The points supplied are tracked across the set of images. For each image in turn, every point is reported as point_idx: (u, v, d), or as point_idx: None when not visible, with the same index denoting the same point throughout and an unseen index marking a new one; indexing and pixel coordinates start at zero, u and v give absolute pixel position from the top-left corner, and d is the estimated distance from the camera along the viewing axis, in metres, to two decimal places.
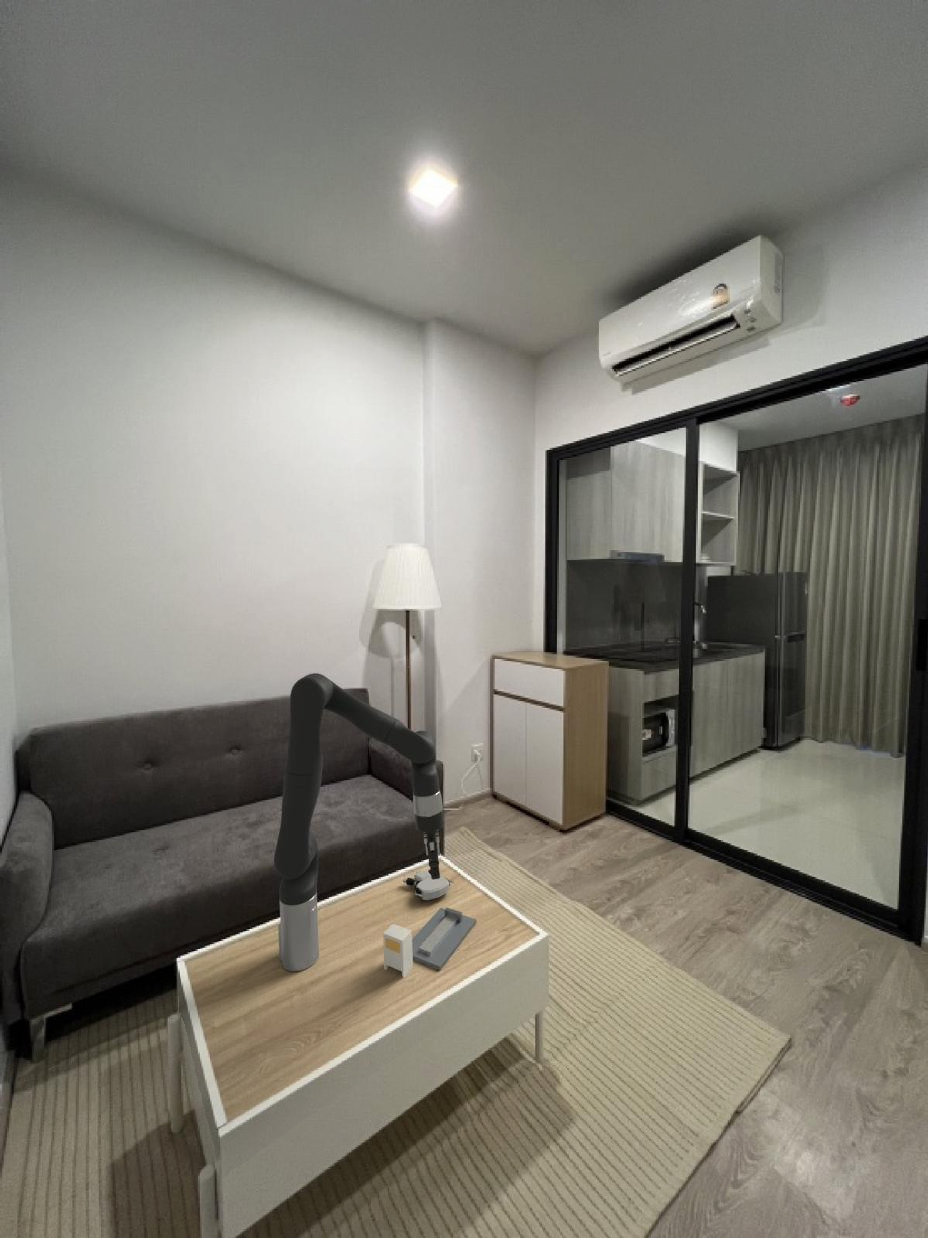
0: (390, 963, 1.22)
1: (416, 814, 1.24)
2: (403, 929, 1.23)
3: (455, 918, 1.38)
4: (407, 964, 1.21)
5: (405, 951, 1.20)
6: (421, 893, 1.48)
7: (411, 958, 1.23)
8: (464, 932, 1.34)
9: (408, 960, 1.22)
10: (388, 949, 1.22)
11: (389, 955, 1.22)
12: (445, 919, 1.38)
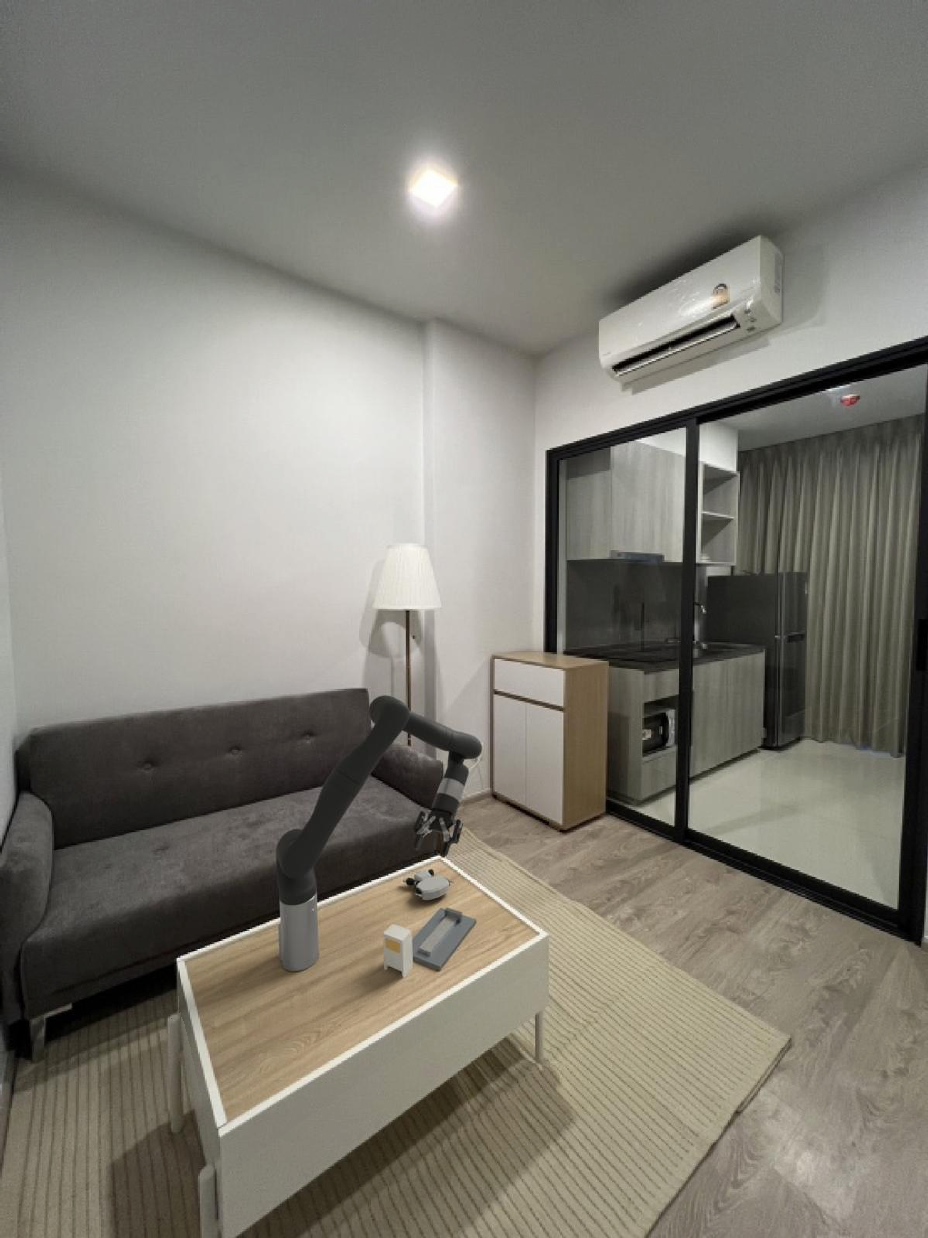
0: (390, 963, 1.22)
1: (449, 794, 1.42)
2: (403, 929, 1.23)
3: (455, 918, 1.38)
4: (407, 964, 1.21)
5: (405, 951, 1.20)
6: (421, 893, 1.48)
7: (411, 958, 1.23)
8: (464, 932, 1.34)
9: (408, 960, 1.22)
10: (388, 949, 1.22)
11: (389, 955, 1.22)
12: (445, 919, 1.38)
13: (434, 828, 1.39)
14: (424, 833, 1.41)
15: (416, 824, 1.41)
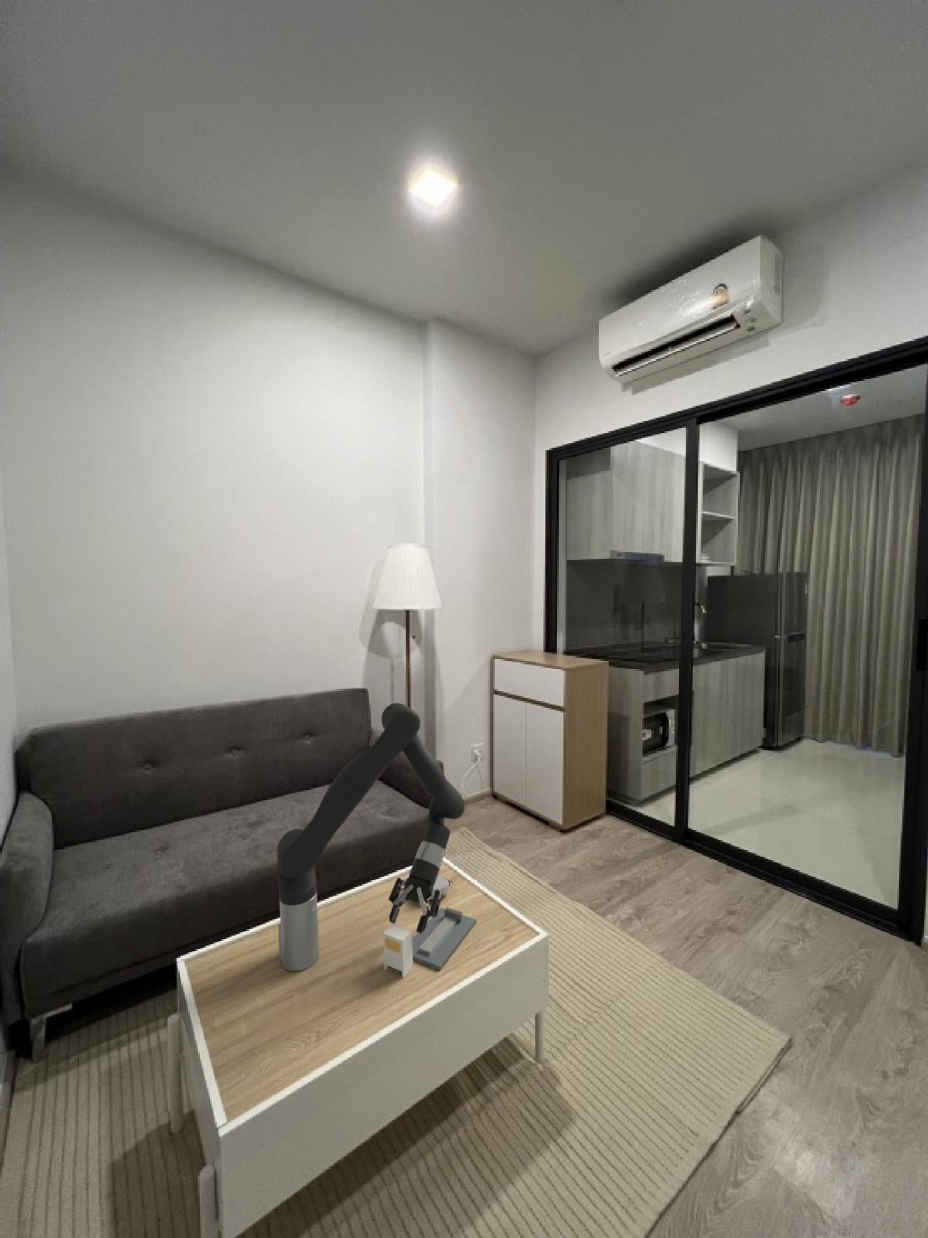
0: (390, 963, 1.22)
1: (428, 861, 1.32)
2: (403, 929, 1.23)
3: (455, 918, 1.38)
4: (407, 964, 1.21)
5: (405, 951, 1.20)
6: None
7: (411, 958, 1.23)
8: (464, 932, 1.34)
9: (408, 960, 1.22)
10: (388, 949, 1.22)
11: (389, 955, 1.22)
12: (445, 919, 1.38)
13: (411, 899, 1.29)
14: (401, 903, 1.31)
15: (392, 893, 1.32)
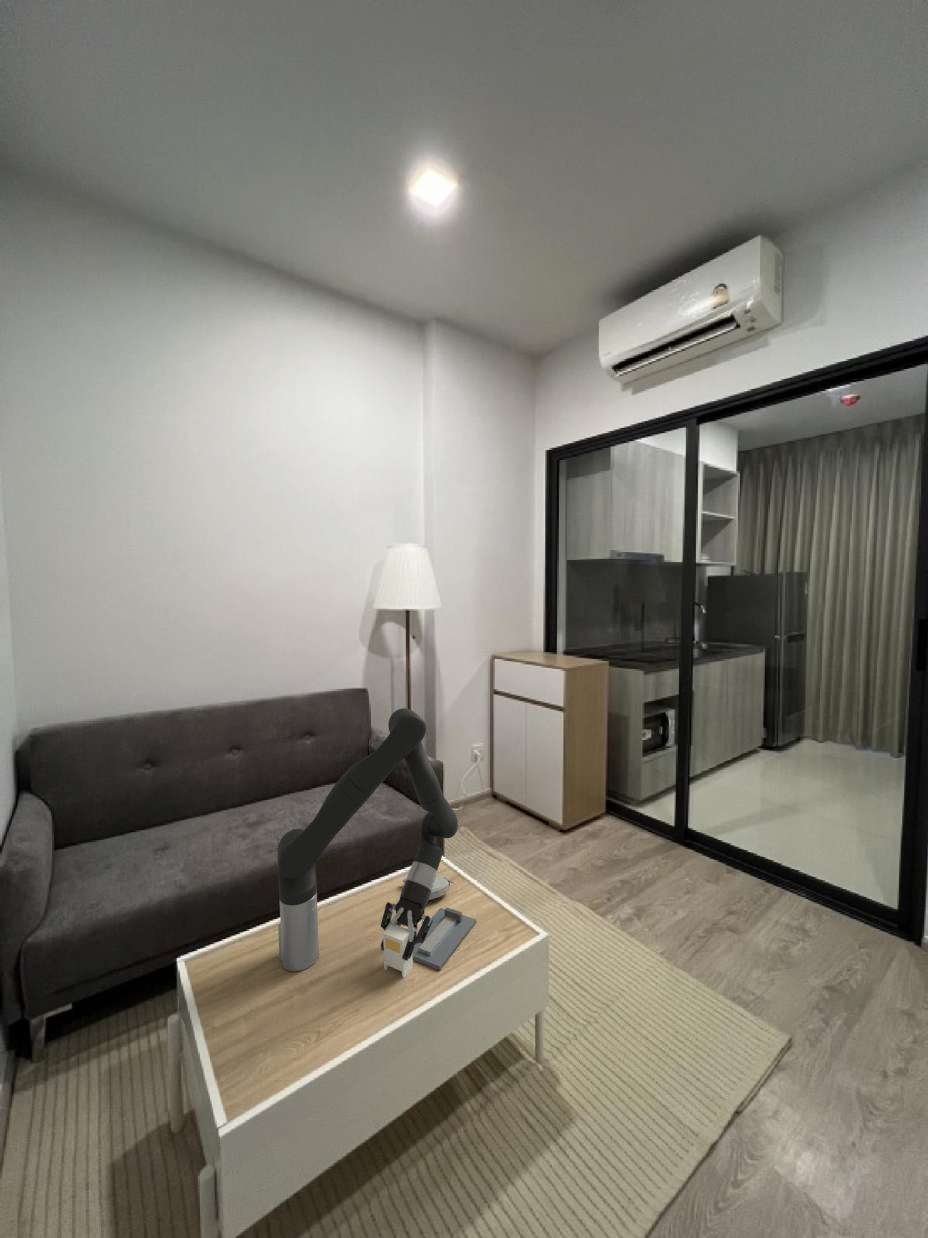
0: (390, 963, 1.22)
1: (420, 883, 1.28)
2: (403, 929, 1.23)
3: (455, 918, 1.38)
4: (407, 964, 1.21)
5: None
6: None
7: (411, 958, 1.23)
8: (464, 932, 1.34)
9: (408, 960, 1.22)
10: (388, 949, 1.22)
11: (389, 955, 1.22)
12: (445, 919, 1.38)
13: (401, 923, 1.25)
14: None
15: (383, 919, 1.27)
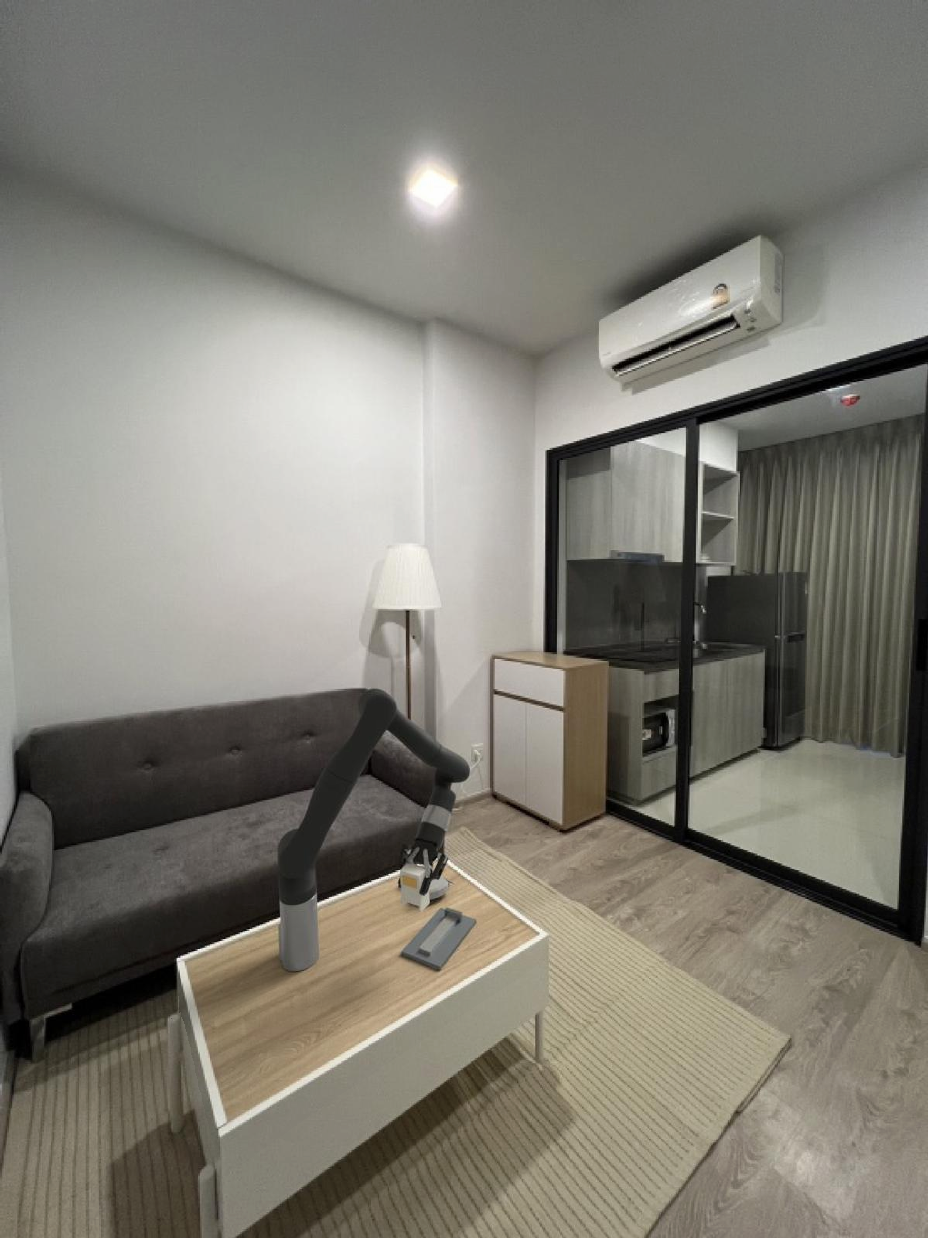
0: (407, 899, 1.24)
1: (434, 823, 1.31)
2: (419, 867, 1.26)
3: (455, 918, 1.38)
4: (424, 900, 1.24)
5: None
6: None
7: (428, 895, 1.26)
8: (464, 932, 1.34)
9: (425, 896, 1.25)
10: (405, 886, 1.25)
11: (406, 891, 1.24)
12: (445, 919, 1.38)
13: (417, 861, 1.28)
14: None
15: (400, 859, 1.30)
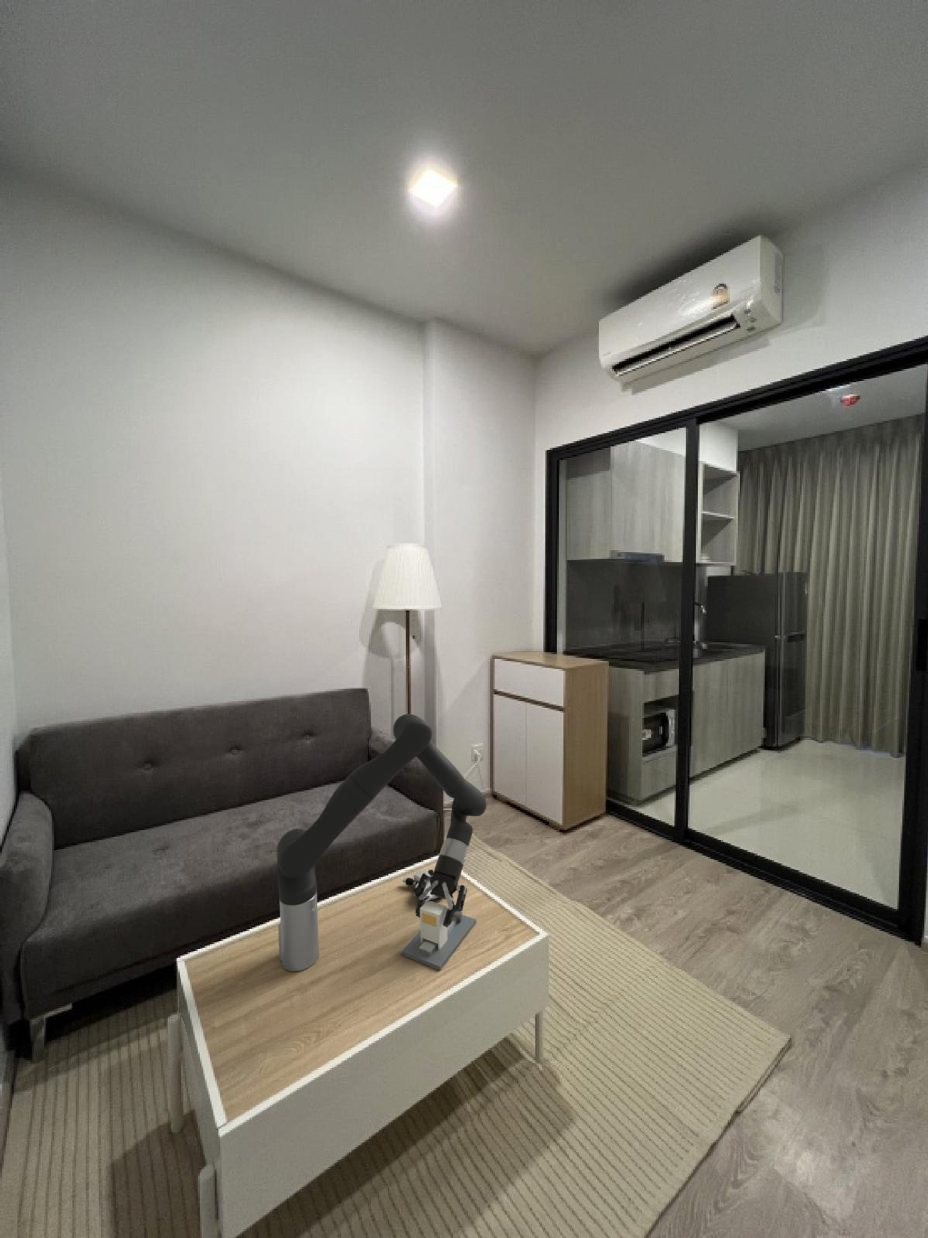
0: (426, 937, 1.29)
1: (453, 857, 1.36)
2: (438, 905, 1.31)
3: (455, 918, 1.38)
4: (442, 937, 1.29)
5: (441, 924, 1.28)
6: None
7: (446, 932, 1.31)
8: (464, 932, 1.34)
9: (443, 934, 1.29)
10: (424, 923, 1.29)
11: (426, 929, 1.29)
12: None
13: (436, 894, 1.32)
14: (426, 898, 1.34)
15: (418, 888, 1.35)
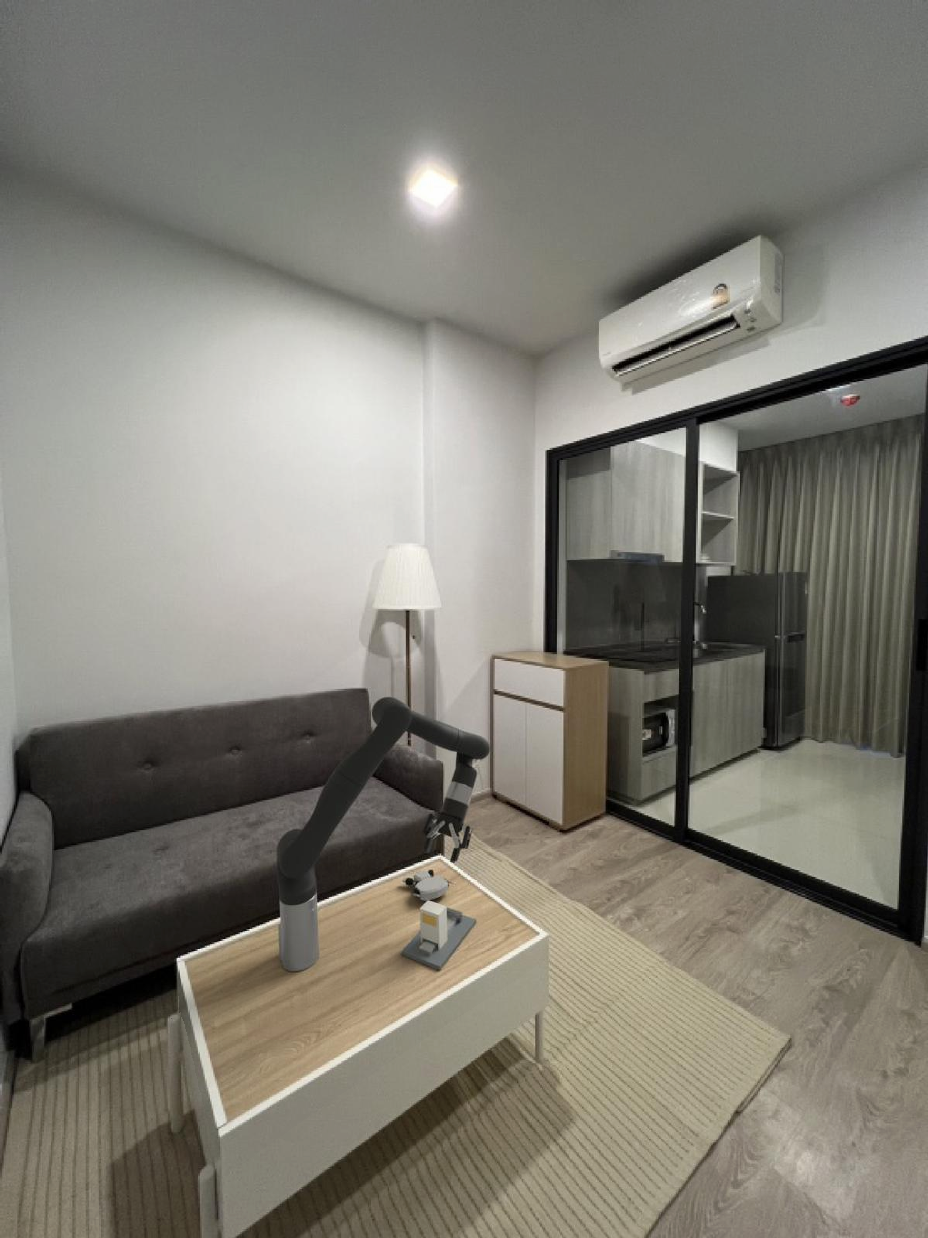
0: (426, 937, 1.29)
1: (459, 800, 1.42)
2: (438, 905, 1.31)
3: (455, 918, 1.38)
4: (442, 937, 1.29)
5: (441, 924, 1.28)
6: (419, 893, 1.48)
7: (446, 932, 1.31)
8: (464, 932, 1.34)
9: (443, 934, 1.29)
10: (424, 923, 1.29)
11: (426, 929, 1.29)
12: None
13: (443, 833, 1.40)
14: (434, 835, 1.43)
15: (426, 827, 1.43)
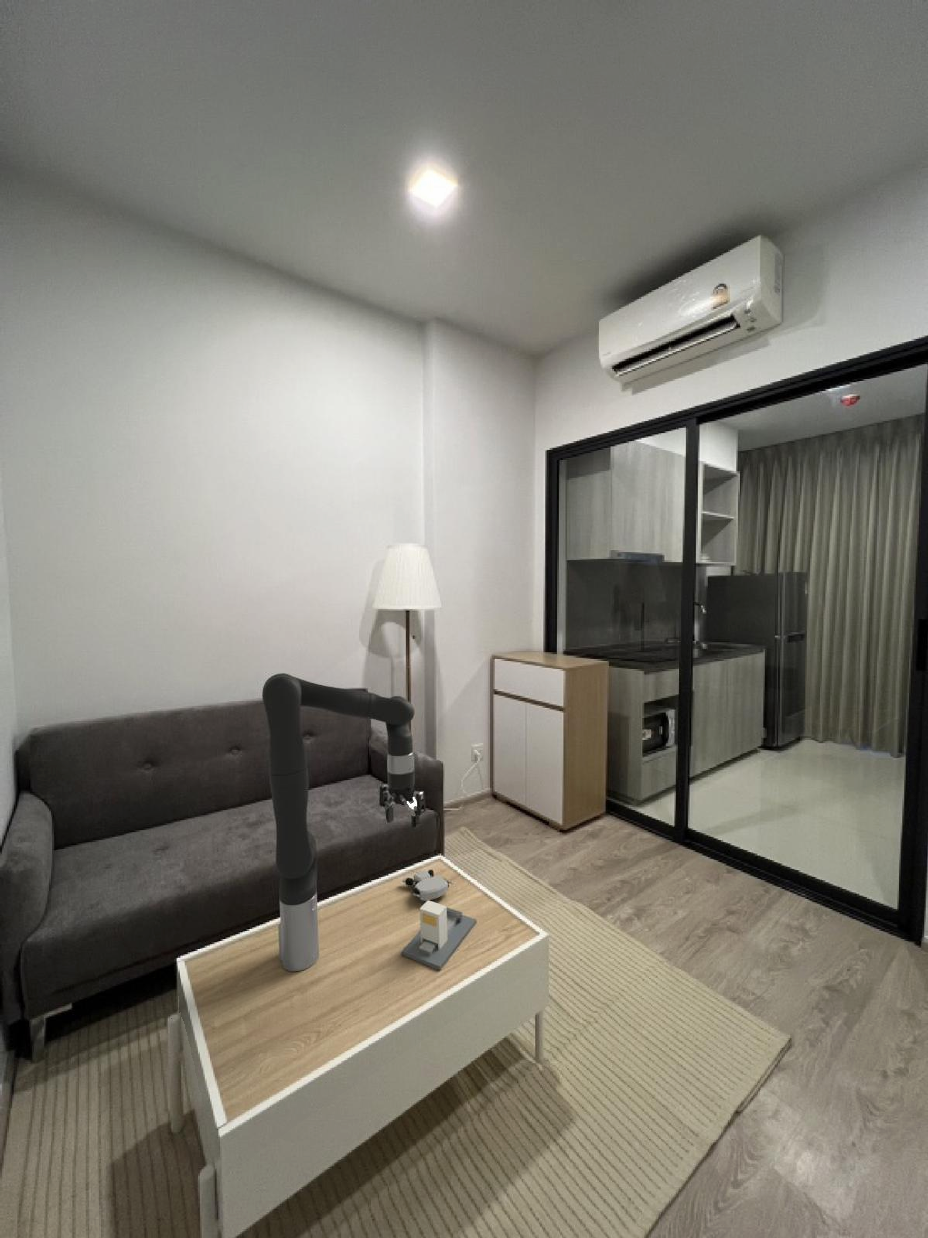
0: (426, 937, 1.29)
1: (400, 773, 1.32)
2: (438, 905, 1.31)
3: (455, 918, 1.38)
4: (442, 937, 1.29)
5: (441, 924, 1.28)
6: (419, 893, 1.48)
7: (446, 932, 1.31)
8: (464, 932, 1.34)
9: (443, 934, 1.29)
10: (424, 923, 1.29)
11: (426, 929, 1.29)
12: None
13: (398, 803, 1.35)
14: (392, 804, 1.39)
15: (380, 800, 1.38)
